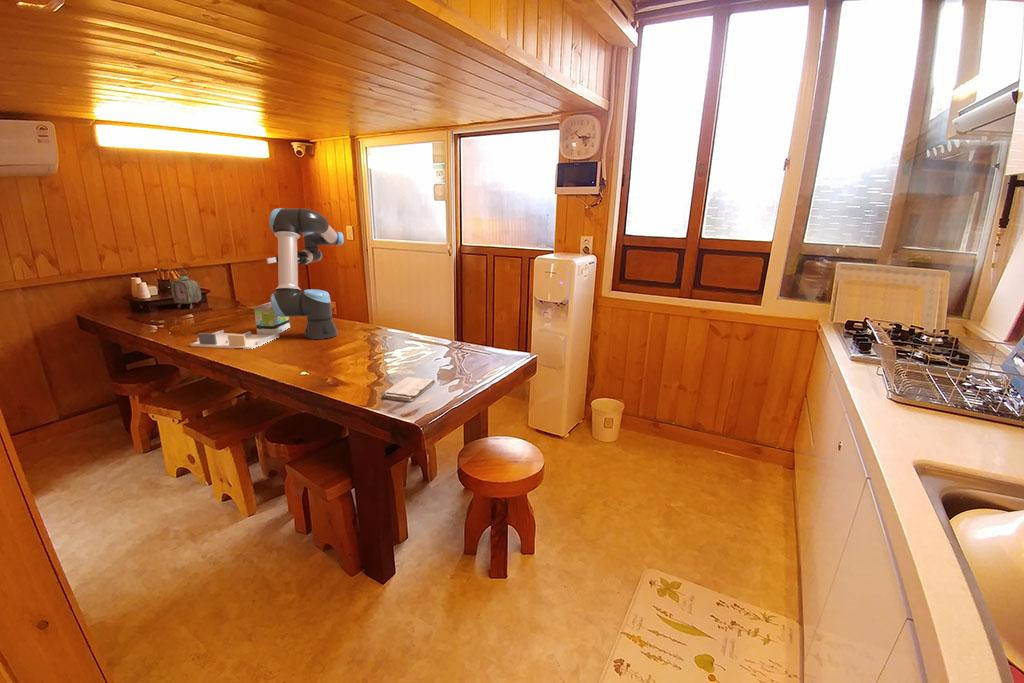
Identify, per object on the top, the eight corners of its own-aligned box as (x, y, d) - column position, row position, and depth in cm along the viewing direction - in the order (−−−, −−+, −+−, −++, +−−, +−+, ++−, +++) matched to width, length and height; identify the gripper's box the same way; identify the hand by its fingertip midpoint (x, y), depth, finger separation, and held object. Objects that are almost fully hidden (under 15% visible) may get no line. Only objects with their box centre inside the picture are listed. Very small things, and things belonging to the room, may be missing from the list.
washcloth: (381, 400, 153) (381, 391, 152) (406, 381, 170) (406, 373, 169) (413, 404, 150) (412, 395, 149) (435, 385, 167) (435, 377, 166)
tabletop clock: (174, 308, 284) (166, 268, 277) (188, 305, 292) (180, 267, 285) (191, 310, 279) (183, 270, 272) (204, 307, 288) (197, 268, 281)
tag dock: (279, 337, 223) (277, 326, 221) (252, 349, 204) (250, 336, 202) (222, 334, 226) (220, 323, 225) (190, 346, 207) (188, 333, 206)
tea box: (276, 335, 226) (272, 307, 222) (256, 335, 226) (252, 307, 222) (291, 328, 240) (287, 301, 236) (272, 328, 241) (268, 301, 236)
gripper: (324, 264, 254) (302, 269, 234) (283, 263, 257) (258, 267, 237) (322, 251, 252) (300, 254, 232) (281, 250, 255) (256, 253, 235)
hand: (279, 261), depth 235 cm, fingers open, 13 cm apart
